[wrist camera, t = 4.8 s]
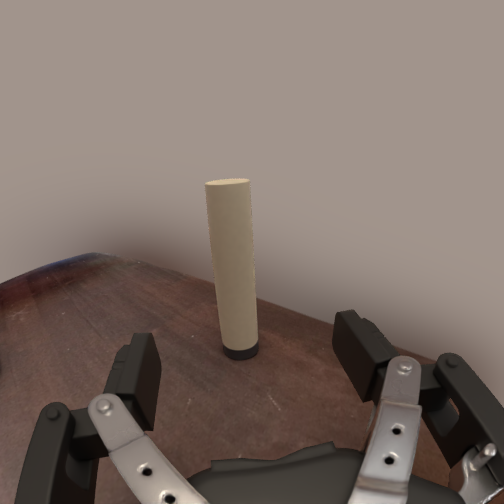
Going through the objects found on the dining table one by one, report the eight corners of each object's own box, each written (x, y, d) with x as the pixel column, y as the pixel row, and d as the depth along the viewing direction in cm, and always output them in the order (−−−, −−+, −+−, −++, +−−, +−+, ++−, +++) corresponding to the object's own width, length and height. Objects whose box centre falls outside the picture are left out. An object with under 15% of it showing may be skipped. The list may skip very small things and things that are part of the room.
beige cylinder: (250, 334, 24) (240, 177, 19) (264, 353, 21) (256, 181, 16) (219, 343, 23) (200, 181, 18) (230, 364, 20) (211, 185, 16)
